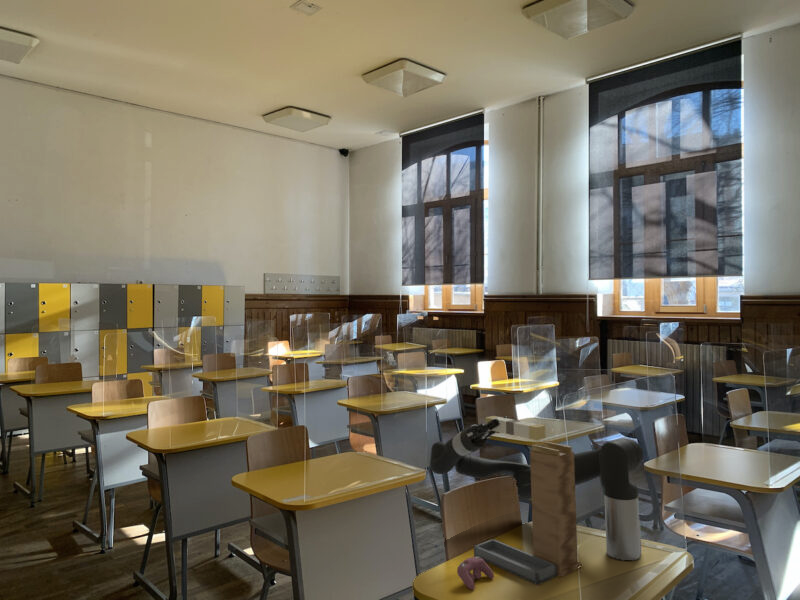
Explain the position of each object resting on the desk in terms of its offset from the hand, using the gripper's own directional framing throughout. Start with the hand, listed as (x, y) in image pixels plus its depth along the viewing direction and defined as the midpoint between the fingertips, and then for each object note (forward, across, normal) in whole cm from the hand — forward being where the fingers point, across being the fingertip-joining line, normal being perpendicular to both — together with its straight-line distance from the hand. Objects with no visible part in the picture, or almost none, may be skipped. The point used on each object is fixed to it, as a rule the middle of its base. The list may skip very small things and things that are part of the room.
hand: (502, 420), depth 177 cm
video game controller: (-13, -20, +38) cm, 45 cm away
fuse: (+2, 0, +5) cm, 6 cm away
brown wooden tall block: (-6, +3, +42) cm, 42 cm away
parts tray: (-13, -6, +38) cm, 40 cm away
